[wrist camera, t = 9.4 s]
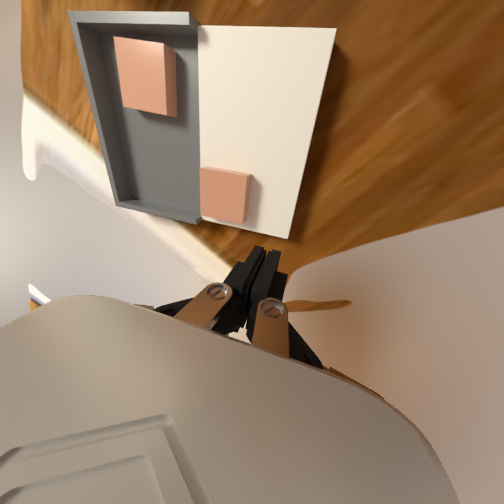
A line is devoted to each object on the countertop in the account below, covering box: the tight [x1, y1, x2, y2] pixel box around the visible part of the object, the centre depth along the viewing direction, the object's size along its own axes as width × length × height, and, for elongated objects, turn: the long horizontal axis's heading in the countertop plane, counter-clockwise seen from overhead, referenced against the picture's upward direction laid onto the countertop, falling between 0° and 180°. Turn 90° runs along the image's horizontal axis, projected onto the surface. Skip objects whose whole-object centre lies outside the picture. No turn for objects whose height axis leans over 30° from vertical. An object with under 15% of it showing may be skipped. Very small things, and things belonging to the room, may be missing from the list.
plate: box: [198, 25, 337, 239], centre depth 24 cm, size 20×13×2 cm, turn 173°
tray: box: [68, 11, 203, 225], centre depth 26 cm, size 21×14×4 cm
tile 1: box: [113, 36, 177, 117], centre depth 22 cm, size 6×6×2 cm
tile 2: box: [199, 166, 252, 224], centre depth 25 cm, size 6×6×2 cm
